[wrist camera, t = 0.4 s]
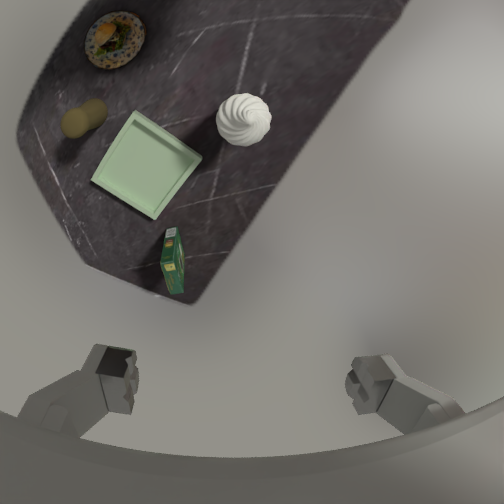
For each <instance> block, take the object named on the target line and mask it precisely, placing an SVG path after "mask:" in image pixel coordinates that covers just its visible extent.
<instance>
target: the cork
mask: <svg viewBox="0 0 504 504" xmlns="http://www.w3.org/2000/svg"><path fill="white" fill-rule="evenodd" d="M107 111H108V110H107V107H106V105H105V103H104V102H103V101H101V100H100V99H96V98H93V99H89V100H87V101H86V102H84V103H83V104H82V105H81V106H80V107H78V108H72V109H70V110H68V111H67V112H66V113H65V114H64V116H63V117H62V120H61V130H62V132H63V134H64V135H65V136H67V137H68V138H72V139H73V138H79V137H81V136H83V135H84V134H85V133H86V132H87V130H90V129H94V128H97V127H99V126H101V125H102V124H103V123H104V122H105V120H106V118H107Z"/></svg>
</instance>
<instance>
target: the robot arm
mask: <svg viewBox="0 0 504 504" xmlns="http://www.w3.org/2000/svg"><path fill="white" fill-rule="evenodd" d="M136 360H137V356H136V351H135V350H132V349H125V348H119V347H113V346H107V345H100V344H95V345H94V346H93V348H92V350H91V352H90V354H89V355H88V357H87V359H86V361H85V363H84V365H83V367H82V369H81V371H79V370H77V371H75V372H73V373H71V374H69V375H67V376H65V377H63V378H62V379H60V380H58V381H56V382H54V383H52V384H50V385H48V386H47V387H45V388H43V389H41V390H39V391H37V392H35V393H33V394H31V395H29V397H28V399H27V401H26V402H25V404H24V406H23V408H22V409H21V411H20V413H19V415H18V417H14V416H12V415H9V414H7V413H4V412H2V411H0V504H504V397H502V398H500V399H498V400H496V401H494V402H492V403H489V404H487V405H485V406H483V407H481V408H478V409H476V410H474V411H471V412H469V413H467V414H466V413H465V412H464V411H463V410H462V408H461V407H460V406H459V405H458V403H457V402H456V401H455V400H454V399H453V397H451V396H448V395H446V394H445V393H442V392H440V391H438V390H436V389H434V388H432V387H430V386H428V385H426V384H424V383H422V382H420V381H418V380H416V379H414V378H412V377H407V376H406V375H405V373H404V372H403V371H402V369H401V368H400V367H399V366H398V364H397V363H396V362H395V360H394V359H393V358H392V357H391V355H389V354H381V355H374V356H362V357H355V358H354V360H353V362H352V364H351V366H352V368H353V369H352V370H351V371H350V372H349V373H348V374H347V377H346V381H345V387H346V391H347V394H348V396H350V397H351V398H353V399H354V401H353V403H352V404H353V406H354V407H355V409H356V411H357V413H358V415H361V414H368V413H375V412H377V414H378V415H379V416H381V417H382V418H383V419H385V420H386V421H387V422H389V423H390V424H391V425H392V426H394V427H395V428H397V429H398V430H399V431H400V432H402V433H403V434H404V435H402V436H398V437H394V438H390V439H386V440H382V441H378V442H374V443H369V444H364V445H359V446H354V447H349V448H344V449H338V450H331V451H324V452H317V453H309V454H299V455H288V456H275V457H254V458H253V457H251V458H216V457H196V456H182V455H171V454H162V453H154V452H146V451H140V450H133V449H127V448H122V447H116V446H111V445H107V444H102V443H97V442H93V441H89V440H85V439H81V438H80V437H81V436H82V435H83V434H84V433H85V432H87V431H88V430H89V429H90V428H91V427H92V426H94V425H95V424H96V423H97V422H98V421H99V420H101V419H102V418H103V417H104V416H105V415H106V414H108V411H110V412H116V413H123V414H130V415H131V413H132V409H133V405H134V396H133V395H134V394H136V393H137V389H138V382H139V372H138V368H137V367H136V366H135V364H136Z"/></svg>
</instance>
